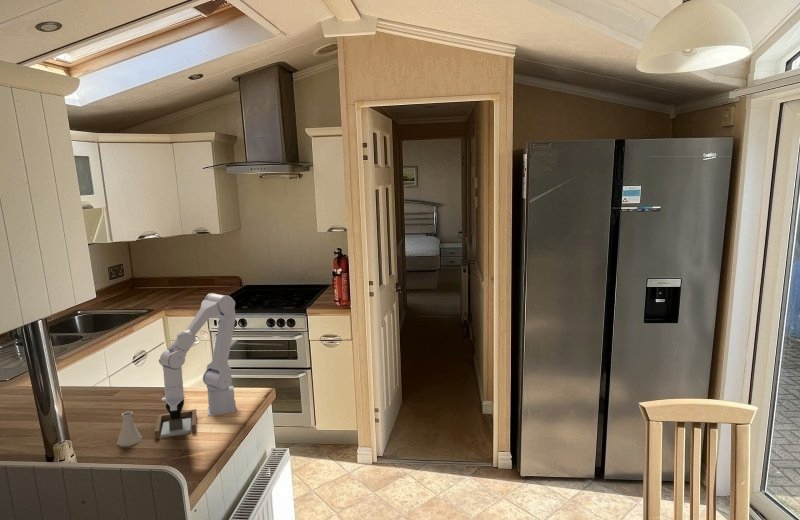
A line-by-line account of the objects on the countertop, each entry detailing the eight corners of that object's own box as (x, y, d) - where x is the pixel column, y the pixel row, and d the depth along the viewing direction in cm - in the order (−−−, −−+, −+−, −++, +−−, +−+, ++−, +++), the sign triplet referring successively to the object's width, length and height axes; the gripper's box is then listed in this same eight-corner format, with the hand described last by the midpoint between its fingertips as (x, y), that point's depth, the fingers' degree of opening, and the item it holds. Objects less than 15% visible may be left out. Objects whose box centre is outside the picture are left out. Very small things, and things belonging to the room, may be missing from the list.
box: (196, 417, 180) (196, 409, 179) (196, 433, 167) (195, 424, 167) (159, 423, 175) (158, 414, 175) (155, 440, 163) (154, 431, 163)
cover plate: (191, 420, 176) (190, 409, 176) (190, 432, 167) (189, 421, 167) (163, 424, 173) (162, 413, 173) (161, 437, 164) (160, 426, 163)
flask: (131, 449, 158) (128, 419, 156) (111, 446, 159) (109, 417, 158) (147, 438, 165) (144, 409, 163) (128, 436, 166) (125, 407, 165)
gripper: (162, 378, 174) (165, 415, 176) (158, 394, 161) (161, 433, 162) (184, 376, 177) (186, 412, 178) (182, 391, 163) (185, 429, 165)
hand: (176, 422), depth 171 cm, fingers closed
